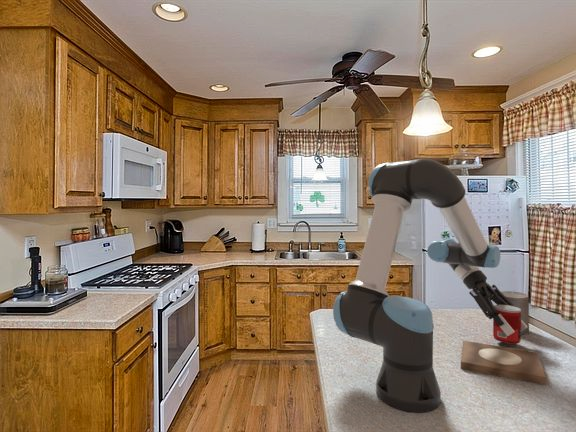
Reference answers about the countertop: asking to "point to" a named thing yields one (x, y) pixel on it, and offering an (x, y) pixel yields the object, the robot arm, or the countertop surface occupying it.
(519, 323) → the canned food
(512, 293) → the pillar candle
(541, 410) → the countertop surface
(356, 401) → the countertop surface
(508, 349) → the board
